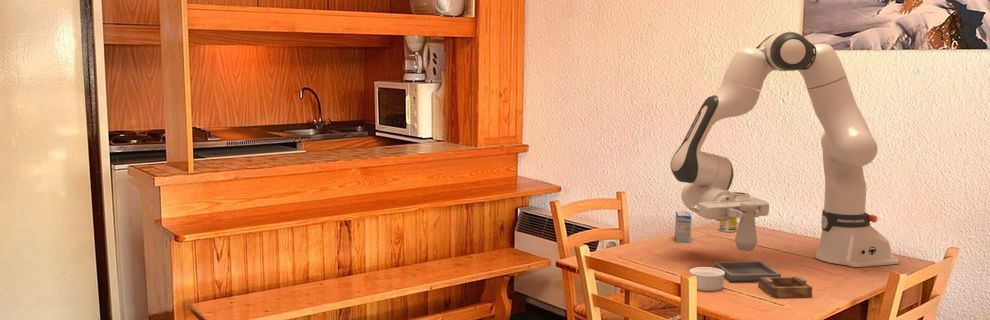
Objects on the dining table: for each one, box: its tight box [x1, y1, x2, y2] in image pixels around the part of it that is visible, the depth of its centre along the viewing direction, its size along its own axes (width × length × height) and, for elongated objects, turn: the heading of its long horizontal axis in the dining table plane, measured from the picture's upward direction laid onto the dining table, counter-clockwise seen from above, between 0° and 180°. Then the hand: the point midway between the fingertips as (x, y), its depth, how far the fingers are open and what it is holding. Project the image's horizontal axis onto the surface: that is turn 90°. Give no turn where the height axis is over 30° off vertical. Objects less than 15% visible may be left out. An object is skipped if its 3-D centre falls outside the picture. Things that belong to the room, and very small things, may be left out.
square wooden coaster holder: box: [757, 276, 813, 299], centre depth 219 cm, size 10×10×3 cm
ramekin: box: [689, 266, 725, 292], centre depth 224 cm, size 9×9×4 cm
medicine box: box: [674, 210, 692, 244], centre depth 277 cm, size 8×4×9 cm, turn 172°
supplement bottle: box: [719, 218, 738, 233], centre depth 290 cm, size 5×5×10 cm
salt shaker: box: [734, 201, 758, 252], centre depth 233 cm, size 6×6×13 cm
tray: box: [713, 260, 782, 284], centre depth 235 cm, size 14×14×2 cm
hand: (750, 214), depth 232 cm, fingers closed on salt shaker, 3 cm apart
